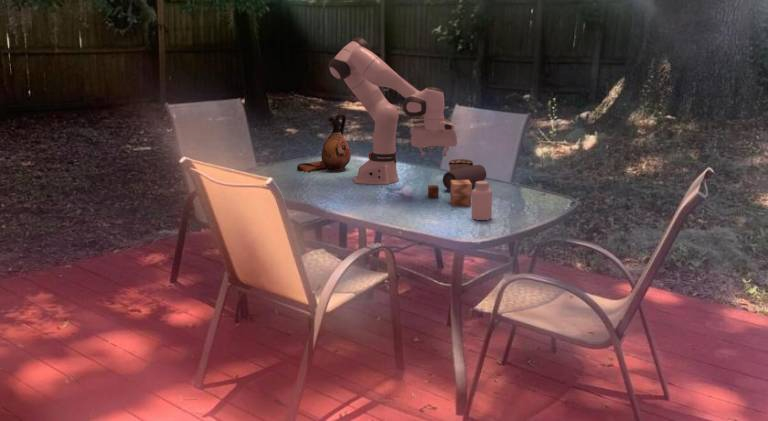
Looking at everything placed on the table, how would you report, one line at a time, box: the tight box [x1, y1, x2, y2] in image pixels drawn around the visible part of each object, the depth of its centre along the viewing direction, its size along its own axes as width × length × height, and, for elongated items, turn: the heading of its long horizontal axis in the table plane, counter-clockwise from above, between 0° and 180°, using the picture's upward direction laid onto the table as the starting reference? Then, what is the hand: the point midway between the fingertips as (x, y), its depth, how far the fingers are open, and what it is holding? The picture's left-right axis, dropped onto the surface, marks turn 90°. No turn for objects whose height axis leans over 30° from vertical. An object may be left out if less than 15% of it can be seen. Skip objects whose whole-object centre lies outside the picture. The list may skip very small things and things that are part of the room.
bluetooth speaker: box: [442, 164, 487, 190], centre depth 322 cm, size 23×9×10 cm, turn 134°
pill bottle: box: [471, 180, 493, 221], centre depth 272 cm, size 8×8×15 cm
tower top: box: [449, 180, 473, 197], centre depth 293 cm, size 8×8×5 cm
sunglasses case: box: [296, 160, 327, 173], centre depth 364 cm, size 18×7×7 cm, turn 131°
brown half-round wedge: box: [447, 158, 474, 171], centre depth 337 cm, size 12×6×10 cm, turn 84°
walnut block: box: [427, 184, 440, 200], centre depth 306 cm, size 4×4×5 cm
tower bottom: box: [450, 192, 472, 207], centre depth 295 cm, size 8×8×5 cm
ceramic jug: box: [321, 113, 352, 173], centre depth 358 cm, size 17×15×30 cm
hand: (433, 156), depth 301 cm, fingers open, 8 cm apart
